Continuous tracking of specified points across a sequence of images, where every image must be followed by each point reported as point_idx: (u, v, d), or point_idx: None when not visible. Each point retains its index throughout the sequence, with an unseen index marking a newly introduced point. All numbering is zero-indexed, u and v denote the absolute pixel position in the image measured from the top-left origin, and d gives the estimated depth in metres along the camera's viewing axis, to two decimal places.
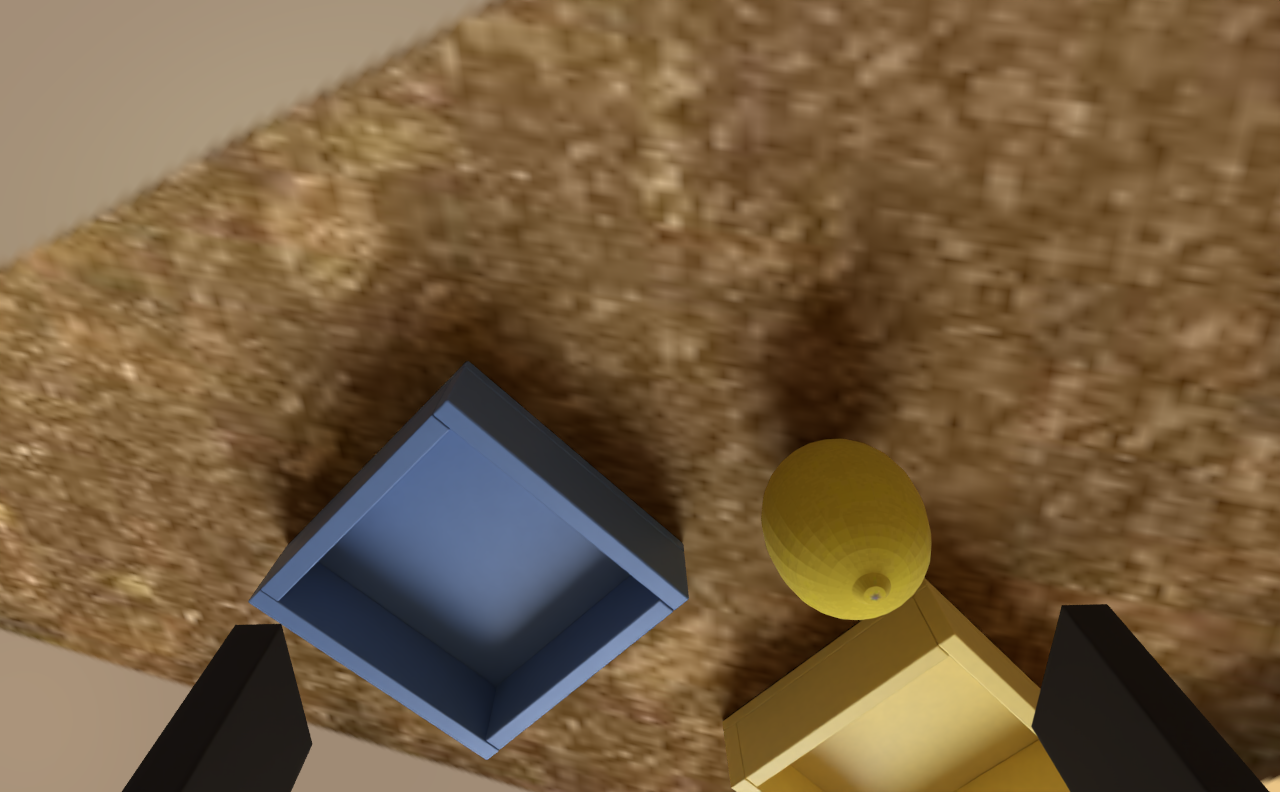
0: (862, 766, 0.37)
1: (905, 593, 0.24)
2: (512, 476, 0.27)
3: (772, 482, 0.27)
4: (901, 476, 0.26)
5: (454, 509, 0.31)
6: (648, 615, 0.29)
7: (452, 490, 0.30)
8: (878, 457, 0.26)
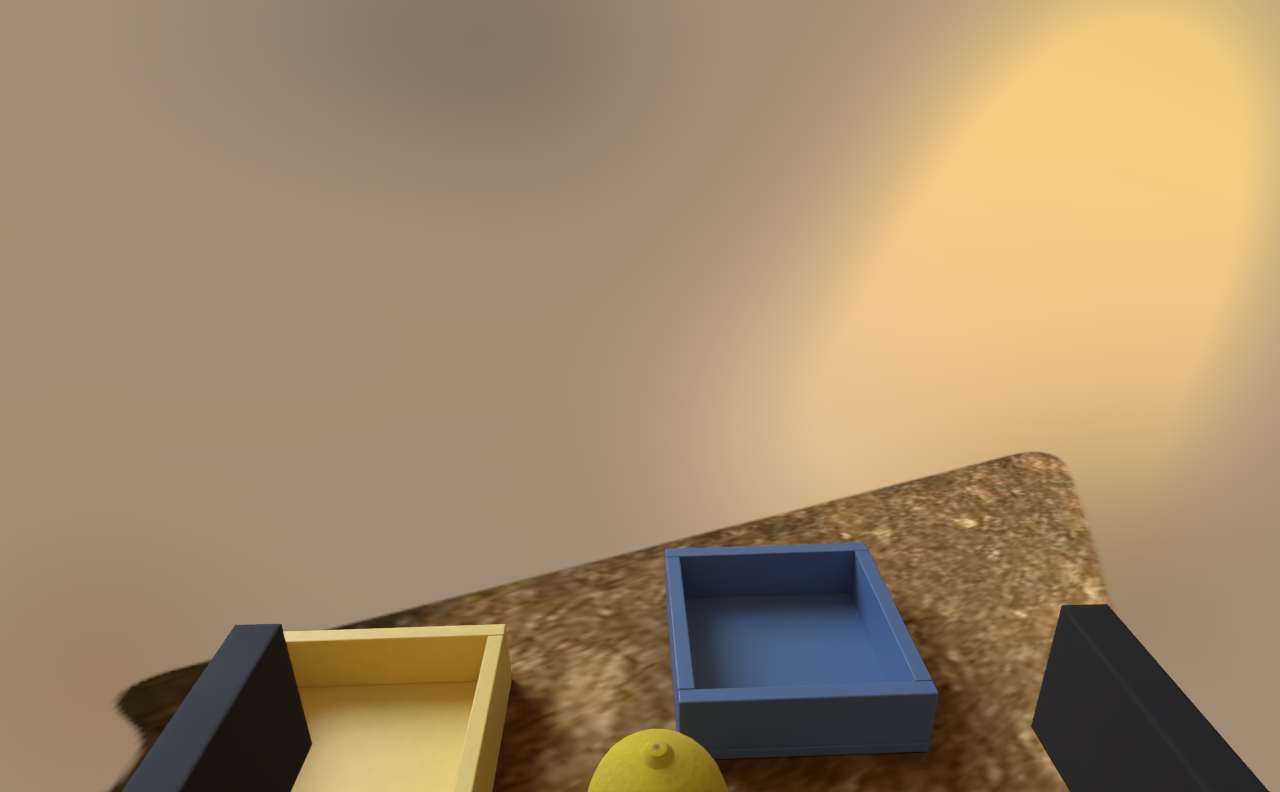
0: (372, 720, 0.38)
1: (624, 775, 0.27)
2: (858, 684, 0.35)
3: None
4: None
5: (825, 666, 0.40)
6: (688, 675, 0.36)
7: (840, 674, 0.40)
8: None
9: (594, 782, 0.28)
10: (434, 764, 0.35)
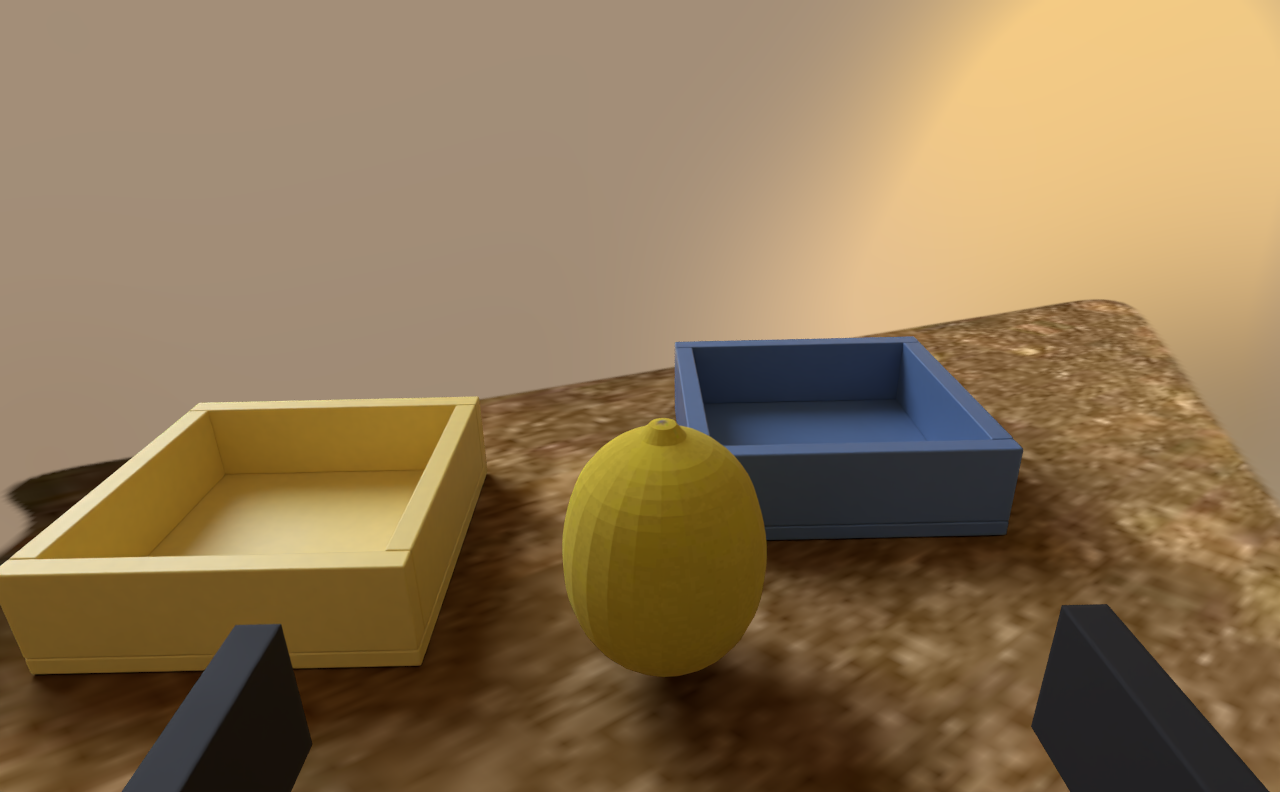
0: (311, 501, 0.31)
1: (617, 457, 0.19)
2: (918, 441, 0.28)
3: None
4: (687, 599, 0.19)
5: None
6: None
7: None
8: (714, 616, 0.19)
9: (577, 481, 0.20)
10: (383, 539, 0.28)
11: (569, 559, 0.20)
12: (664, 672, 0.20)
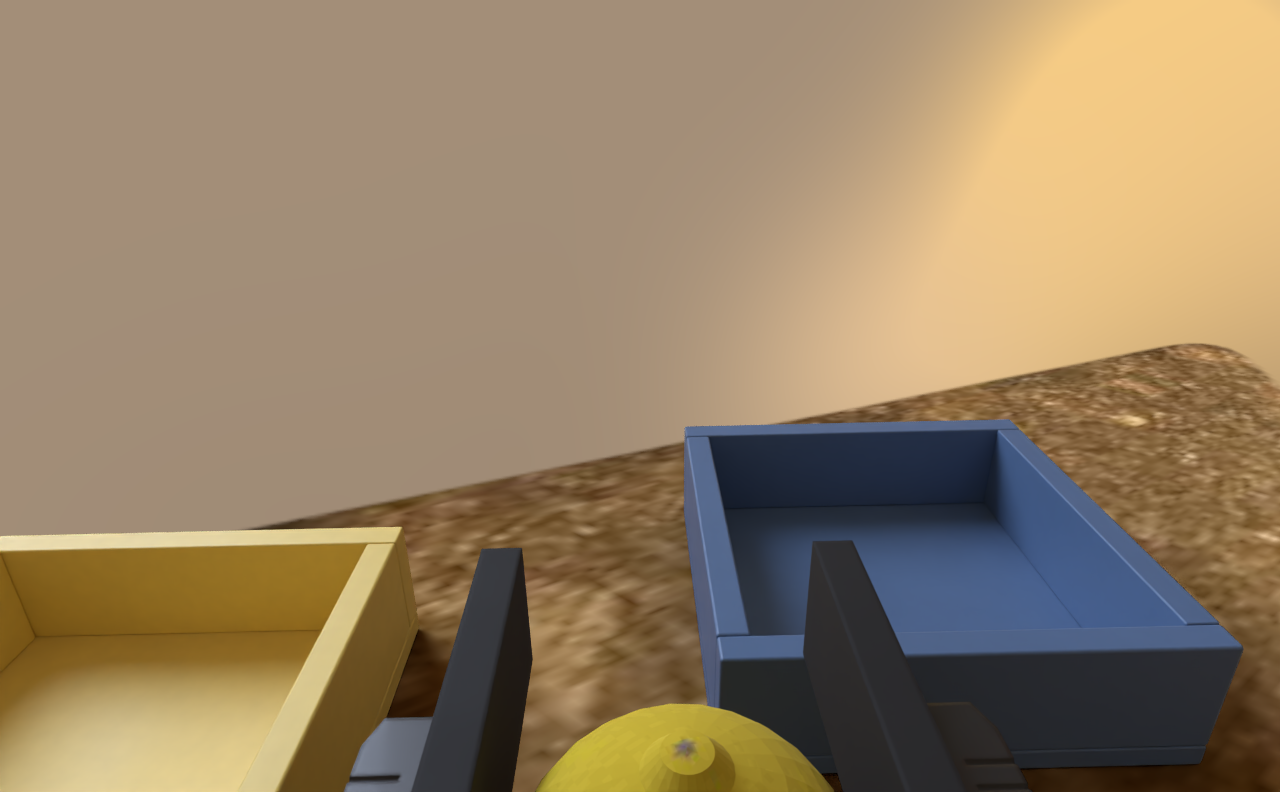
0: (146, 693, 0.20)
1: None
2: (1074, 630, 0.18)
3: None
4: None
5: (969, 610, 0.23)
6: (736, 611, 0.18)
7: (999, 624, 0.22)
8: None
9: None
10: (237, 779, 0.18)
11: None
12: None
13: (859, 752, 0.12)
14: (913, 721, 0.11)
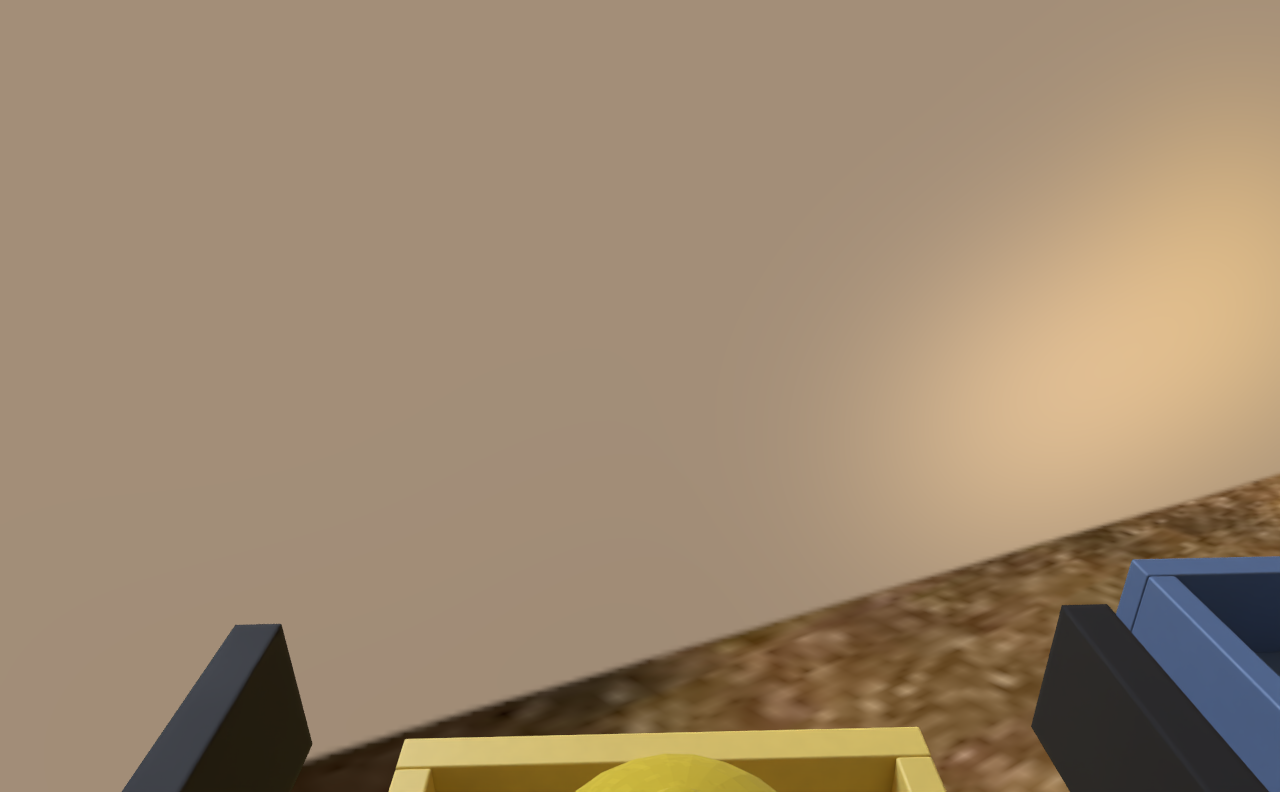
0: None
1: None
2: None
3: None
4: None
5: None
6: None
7: None
8: None
9: None
10: None
11: None
12: None
13: None
14: None
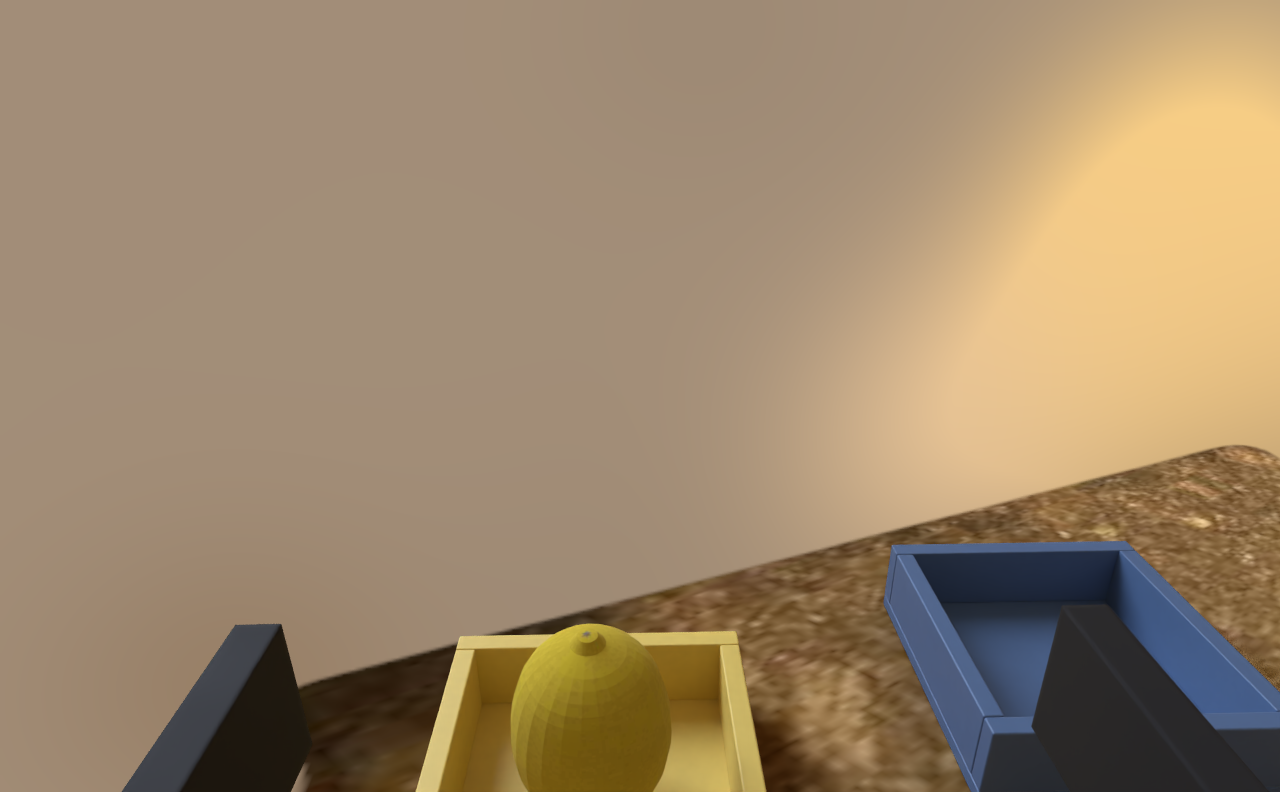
0: None
1: (551, 663, 0.25)
2: (1208, 714, 0.28)
3: None
4: (601, 779, 0.24)
5: None
6: (990, 699, 0.29)
7: None
8: (624, 789, 0.25)
9: (522, 674, 0.26)
10: None
11: (514, 738, 0.26)
12: None
13: None
14: None
